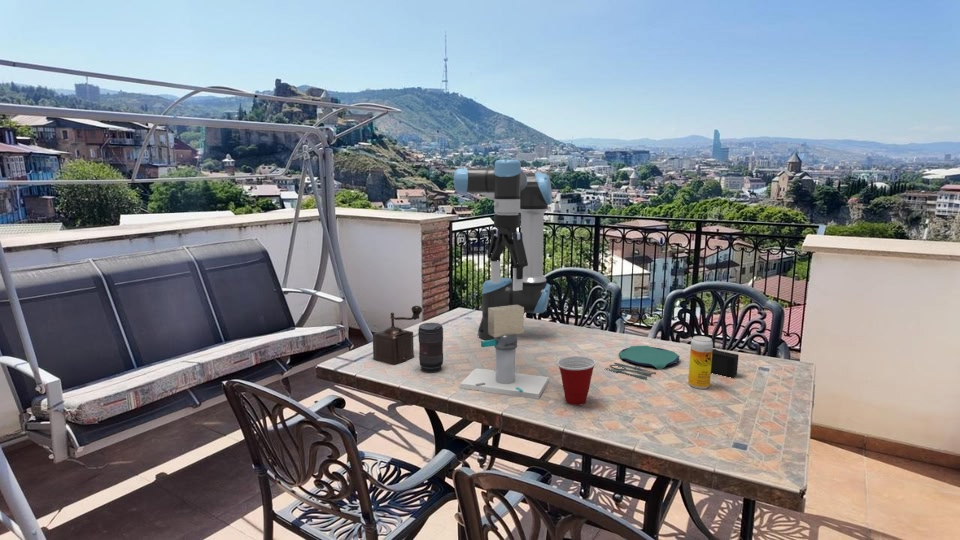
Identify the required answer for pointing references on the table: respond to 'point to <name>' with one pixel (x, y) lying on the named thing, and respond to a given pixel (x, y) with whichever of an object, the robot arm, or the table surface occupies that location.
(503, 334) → the beige boxy piece
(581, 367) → the plastic cup
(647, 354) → the cutlery set
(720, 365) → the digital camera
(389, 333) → the manual coffee grinder
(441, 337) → the camera lens
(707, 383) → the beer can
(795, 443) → the table surface
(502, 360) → the base
